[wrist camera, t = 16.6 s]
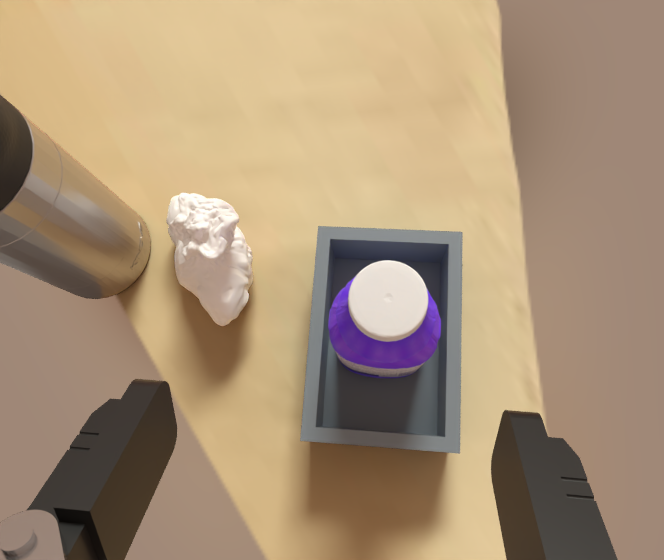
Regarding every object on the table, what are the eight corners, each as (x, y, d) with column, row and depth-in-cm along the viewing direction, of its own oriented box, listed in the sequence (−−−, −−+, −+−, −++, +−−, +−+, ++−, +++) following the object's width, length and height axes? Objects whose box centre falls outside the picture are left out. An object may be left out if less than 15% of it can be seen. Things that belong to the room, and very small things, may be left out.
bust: (257, 329, 48) (313, 266, 40) (179, 353, 43) (224, 288, 35) (204, 220, 51) (246, 141, 43) (126, 232, 46) (157, 145, 38)
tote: (310, 437, 43) (300, 440, 37) (325, 250, 47) (318, 226, 41) (448, 448, 42) (460, 453, 36) (451, 255, 46) (462, 232, 40)
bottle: (428, 314, 44) (461, 247, 27) (424, 383, 42) (457, 359, 25) (340, 307, 44) (319, 238, 28) (334, 375, 43) (307, 347, 26)
